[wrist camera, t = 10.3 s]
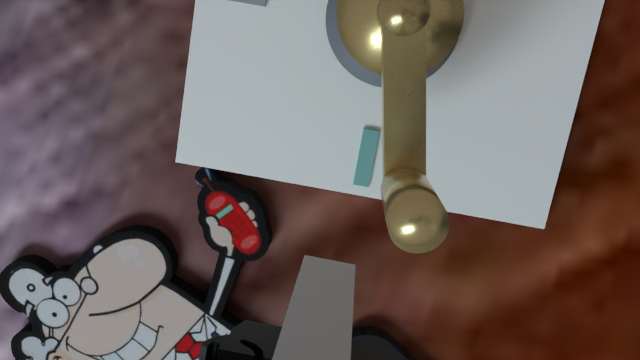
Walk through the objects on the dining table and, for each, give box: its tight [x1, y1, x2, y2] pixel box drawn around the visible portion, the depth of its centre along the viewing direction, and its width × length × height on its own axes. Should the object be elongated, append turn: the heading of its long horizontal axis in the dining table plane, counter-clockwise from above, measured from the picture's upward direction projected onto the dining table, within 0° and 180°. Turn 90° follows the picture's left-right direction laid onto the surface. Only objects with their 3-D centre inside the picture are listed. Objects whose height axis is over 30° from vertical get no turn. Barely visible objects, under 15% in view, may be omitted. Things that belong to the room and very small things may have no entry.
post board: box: [176, 0, 605, 229], centre depth 35 cm, size 24×22×5 cm
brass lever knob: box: [336, 0, 464, 253], centre depth 27 cm, size 13×6×11 cm, turn 2°
